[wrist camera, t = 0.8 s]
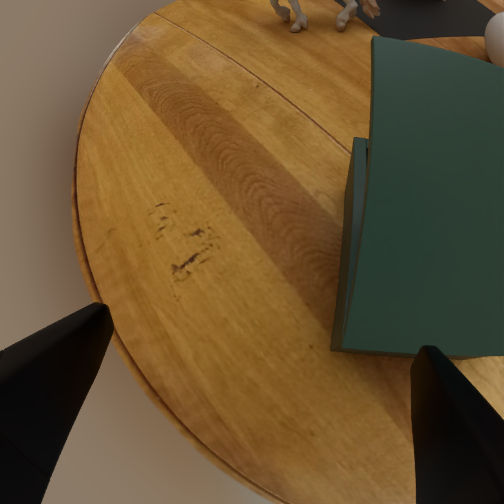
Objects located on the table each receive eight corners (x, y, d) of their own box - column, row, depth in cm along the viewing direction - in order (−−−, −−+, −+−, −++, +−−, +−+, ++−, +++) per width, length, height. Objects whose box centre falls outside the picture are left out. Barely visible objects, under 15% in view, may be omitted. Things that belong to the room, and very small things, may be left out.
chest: (345, 190, 25) (353, 136, 19) (461, 207, 23) (495, 162, 17) (329, 350, 21) (340, 344, 15) (464, 359, 19) (513, 352, 13)
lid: (370, 40, 10) (372, 34, 9) (566, 100, 8) (575, 100, 7) (341, 338, 15) (341, 348, 14) (515, 348, 13) (520, 356, 12)
